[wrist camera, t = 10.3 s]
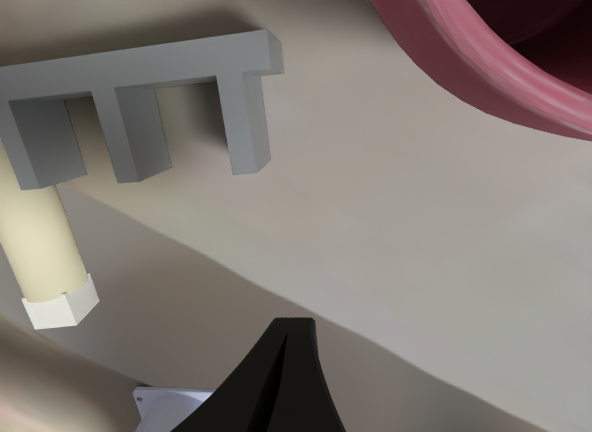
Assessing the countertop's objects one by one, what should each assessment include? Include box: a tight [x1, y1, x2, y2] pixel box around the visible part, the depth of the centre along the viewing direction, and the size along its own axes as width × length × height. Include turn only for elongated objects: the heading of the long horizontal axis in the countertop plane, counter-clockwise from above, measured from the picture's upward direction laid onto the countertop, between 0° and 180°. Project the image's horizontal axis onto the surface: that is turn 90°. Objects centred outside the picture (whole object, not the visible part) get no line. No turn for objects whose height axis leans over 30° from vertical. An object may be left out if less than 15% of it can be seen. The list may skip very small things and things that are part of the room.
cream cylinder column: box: [0, 138, 99, 329], centre depth 21 cm, size 13×4×4 cm, turn 6°
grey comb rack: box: [0, 29, 284, 190], centre depth 18 cm, size 6×22×4 cm, turn 96°
